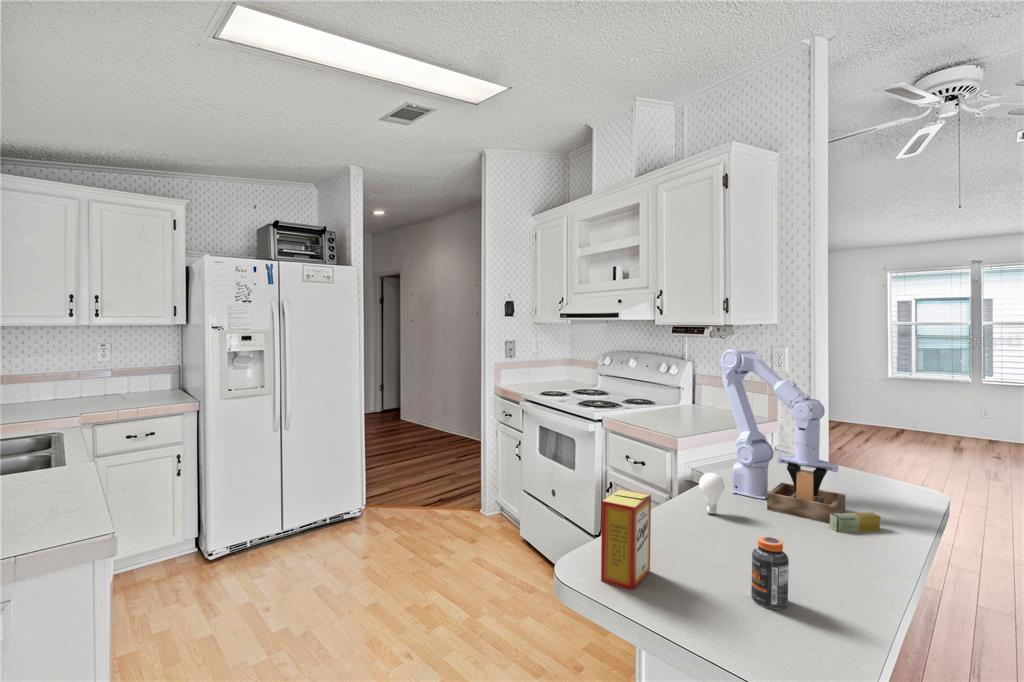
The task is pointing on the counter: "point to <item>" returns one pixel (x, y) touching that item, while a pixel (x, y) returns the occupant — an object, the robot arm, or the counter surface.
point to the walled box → (805, 503)
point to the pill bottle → (770, 573)
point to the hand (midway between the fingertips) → (806, 493)
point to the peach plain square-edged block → (805, 485)
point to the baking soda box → (625, 538)
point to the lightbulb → (711, 490)
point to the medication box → (854, 521)
